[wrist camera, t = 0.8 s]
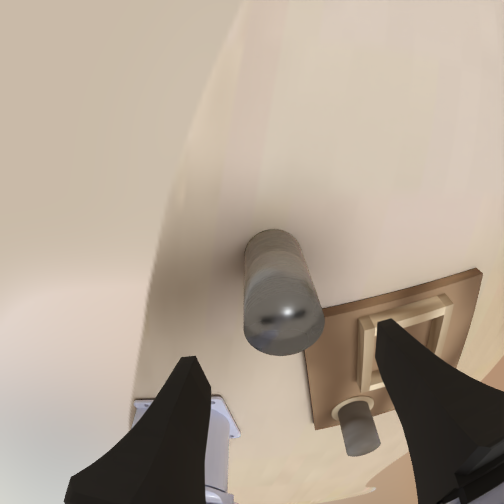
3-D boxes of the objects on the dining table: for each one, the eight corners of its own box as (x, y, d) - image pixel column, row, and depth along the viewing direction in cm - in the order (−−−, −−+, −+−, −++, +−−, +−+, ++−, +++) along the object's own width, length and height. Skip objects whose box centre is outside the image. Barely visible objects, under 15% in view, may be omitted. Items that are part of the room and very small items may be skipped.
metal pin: (251, 284, 20) (253, 361, 14) (238, 235, 19) (234, 302, 12) (304, 274, 20) (327, 347, 14) (296, 224, 18) (321, 286, 12)
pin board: (313, 422, 28) (321, 469, 23) (298, 313, 21) (312, 376, 16) (443, 384, 27) (463, 421, 21) (476, 267, 20) (517, 307, 15)
